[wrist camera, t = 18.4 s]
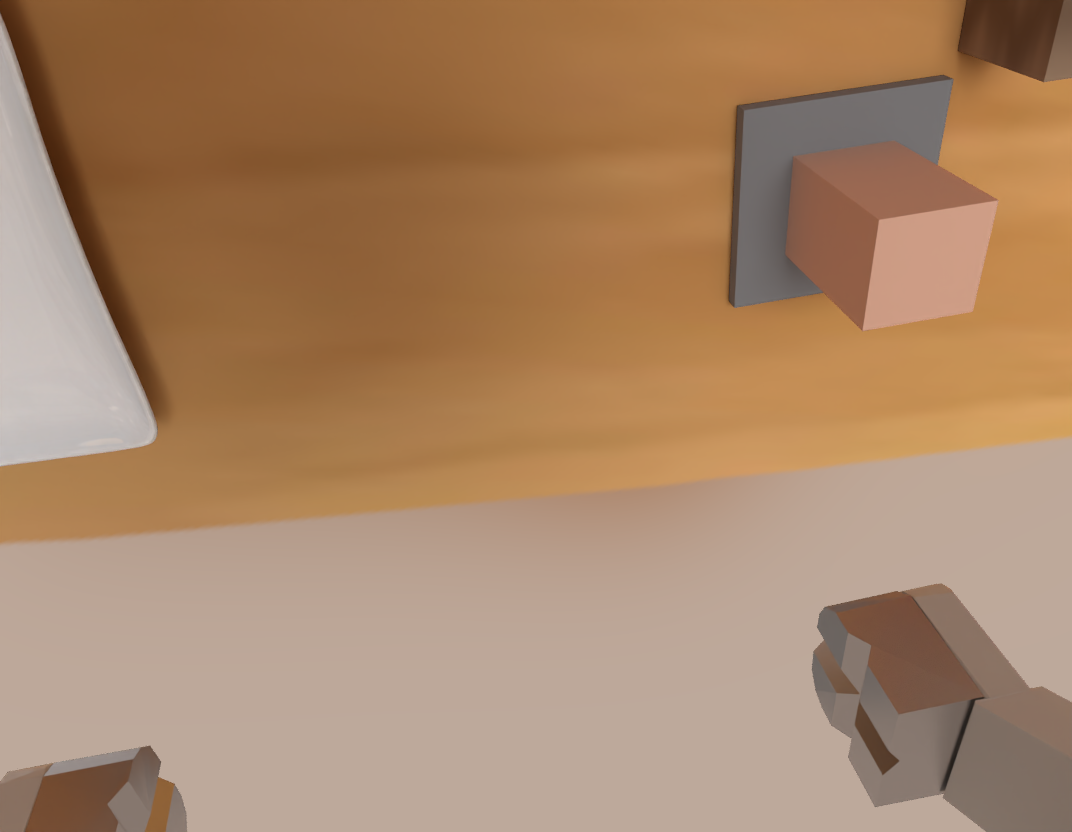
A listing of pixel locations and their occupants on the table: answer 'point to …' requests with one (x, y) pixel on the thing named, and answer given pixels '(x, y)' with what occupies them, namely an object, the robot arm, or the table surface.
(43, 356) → the salad plate
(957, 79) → the table surface
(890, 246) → the pink block
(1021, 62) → the walnut screen
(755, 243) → the charcoal mat
